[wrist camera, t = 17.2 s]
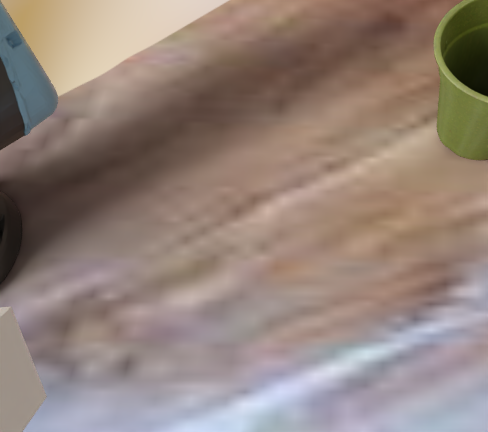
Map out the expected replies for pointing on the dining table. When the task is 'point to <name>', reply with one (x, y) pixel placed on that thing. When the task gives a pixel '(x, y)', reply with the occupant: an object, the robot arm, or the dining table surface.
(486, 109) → the plant pot
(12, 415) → the robot arm
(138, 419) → the dining table surface
